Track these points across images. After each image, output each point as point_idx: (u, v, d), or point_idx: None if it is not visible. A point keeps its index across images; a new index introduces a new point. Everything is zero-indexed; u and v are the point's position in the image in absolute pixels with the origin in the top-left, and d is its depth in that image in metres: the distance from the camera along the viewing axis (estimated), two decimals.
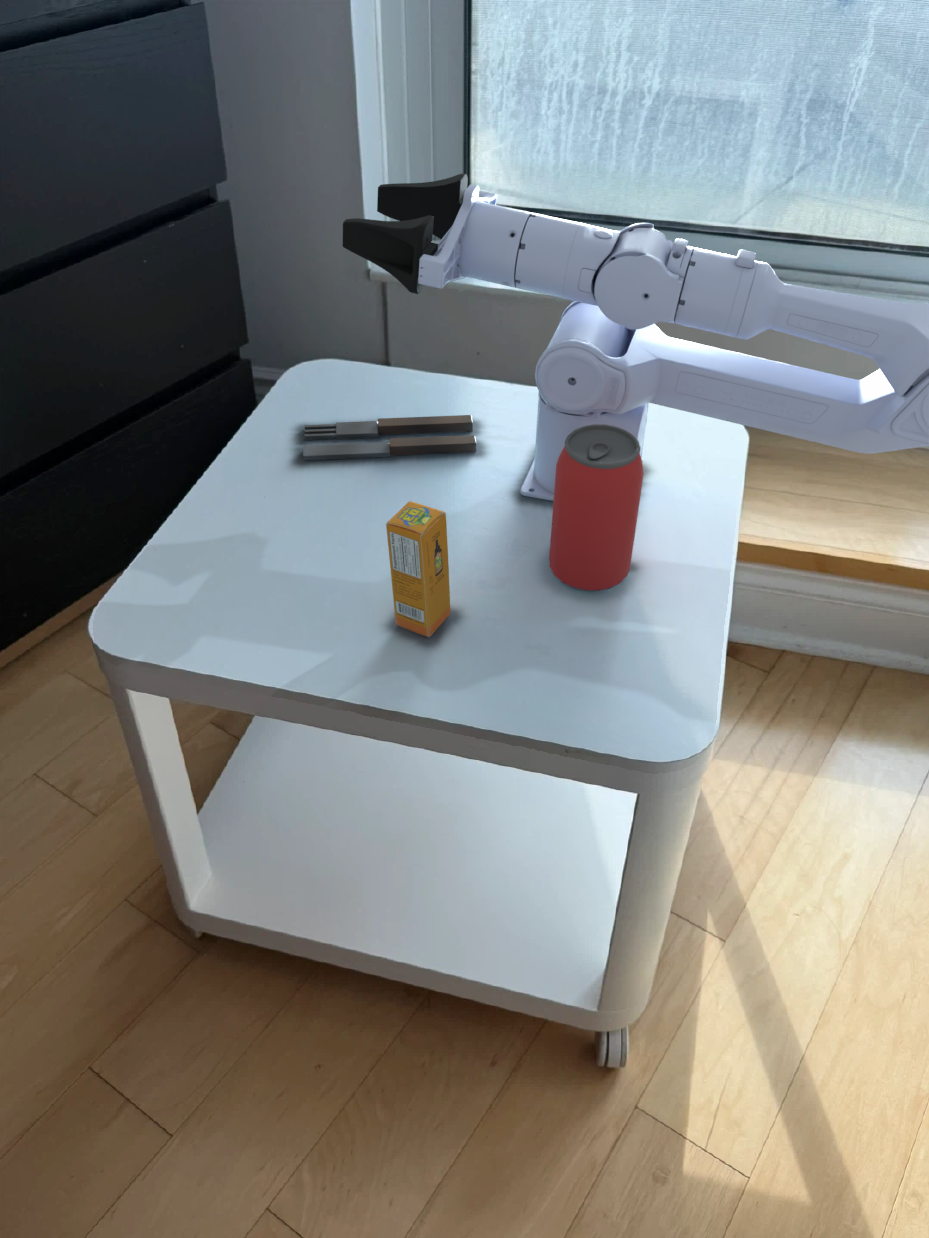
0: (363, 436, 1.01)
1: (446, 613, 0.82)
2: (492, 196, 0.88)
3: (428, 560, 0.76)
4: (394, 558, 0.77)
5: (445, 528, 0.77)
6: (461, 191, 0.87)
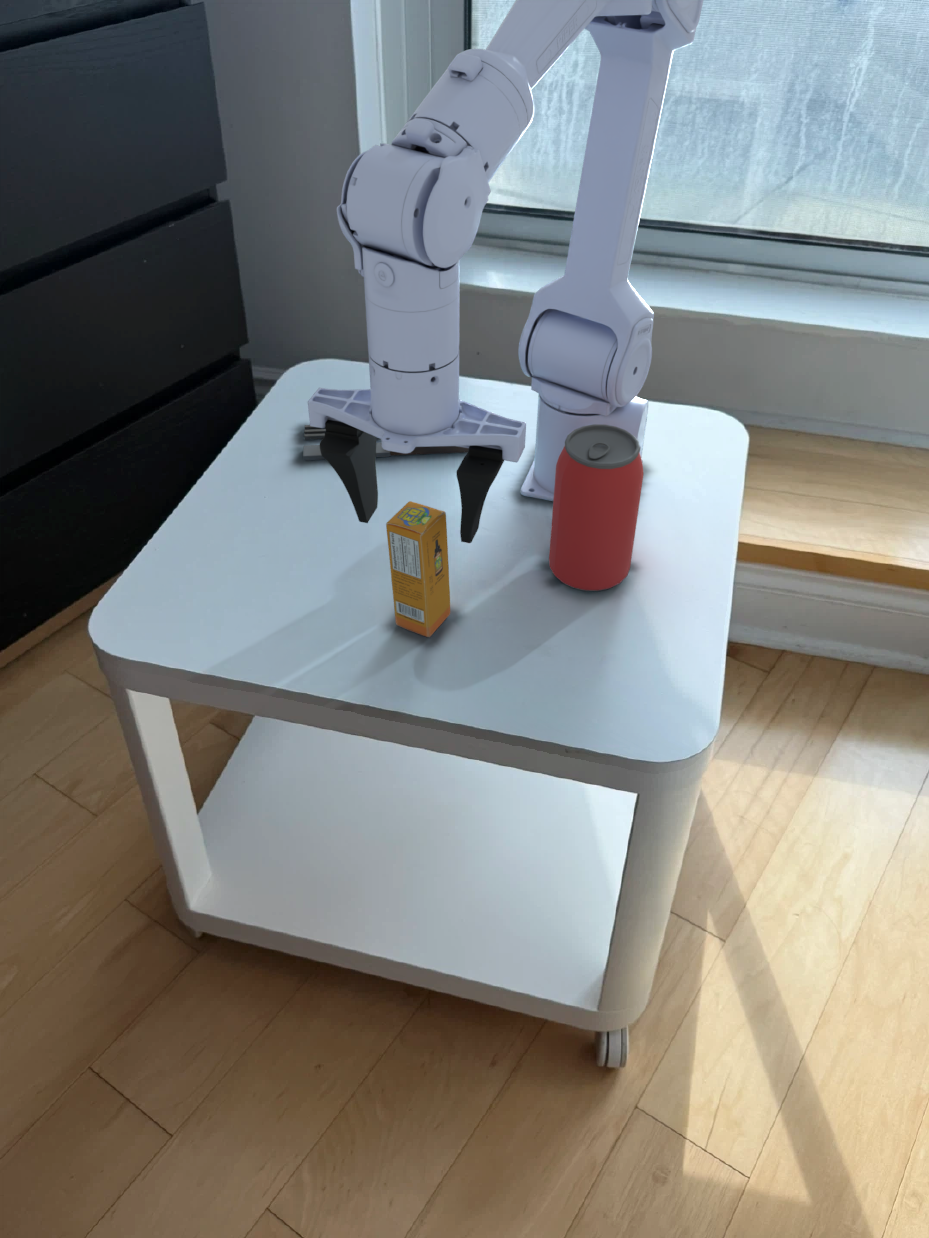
0: None
1: (446, 613, 0.82)
2: (318, 406, 0.71)
3: (428, 560, 0.76)
4: (394, 558, 0.77)
5: (445, 528, 0.77)
6: (344, 444, 0.71)
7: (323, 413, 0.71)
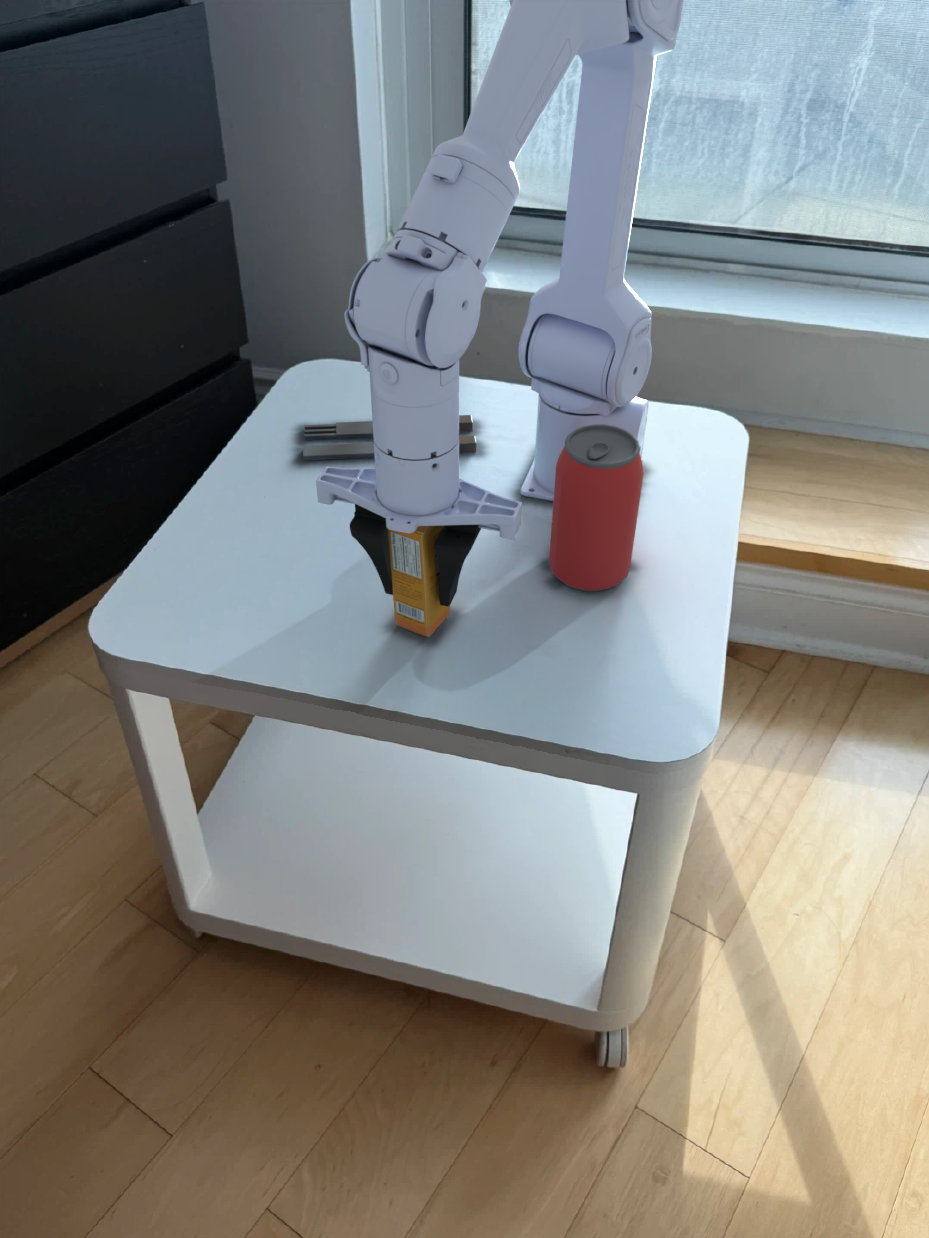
0: (363, 436, 1.01)
1: (446, 613, 0.82)
2: (326, 485, 0.75)
3: (429, 560, 0.76)
4: (395, 558, 0.77)
5: None
6: (373, 525, 0.75)
7: (331, 491, 0.75)
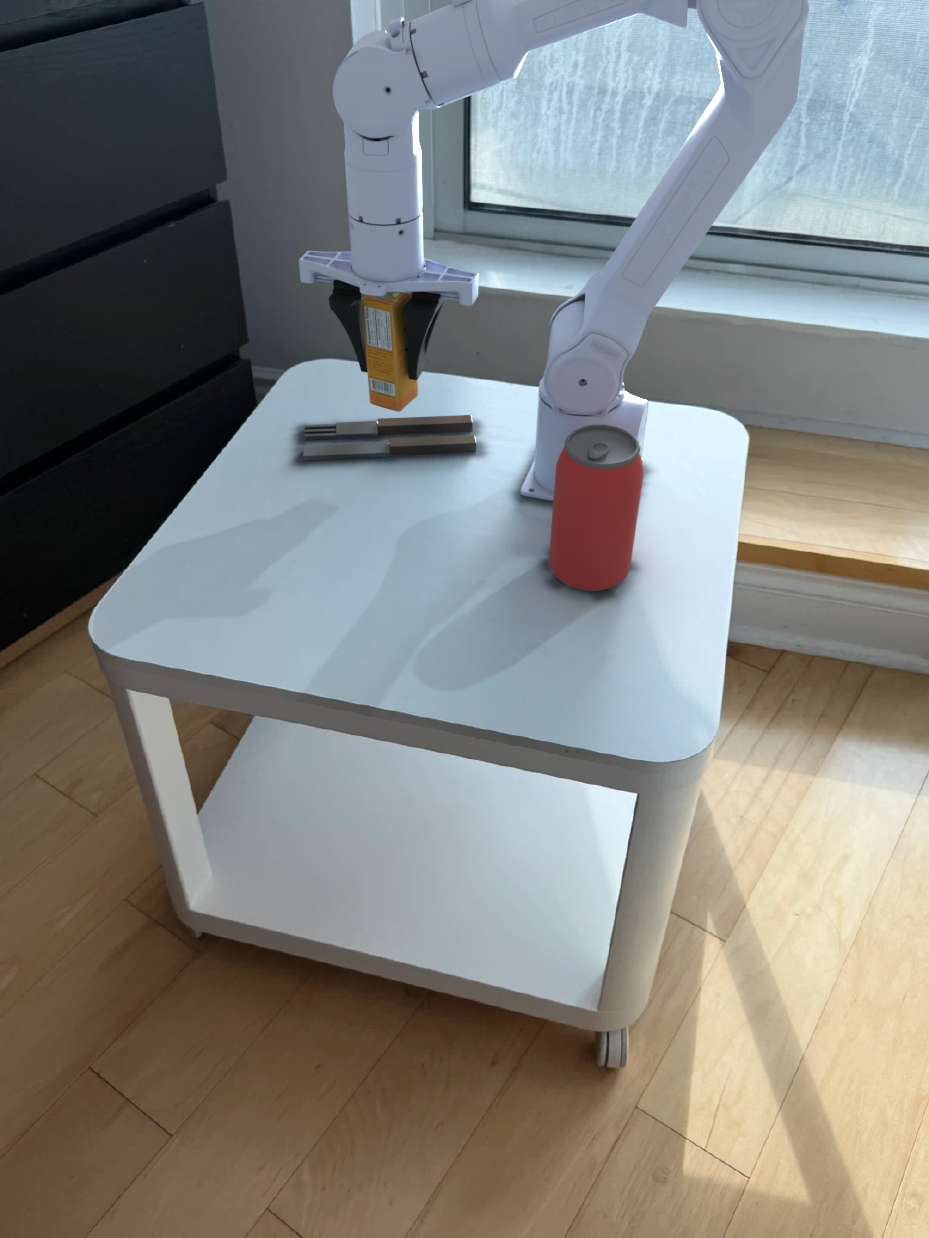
0: (363, 436, 1.01)
1: (414, 393, 0.92)
2: (307, 263, 0.86)
3: (398, 333, 0.87)
4: (368, 333, 0.88)
5: None
6: (349, 298, 0.86)
7: (311, 269, 0.86)
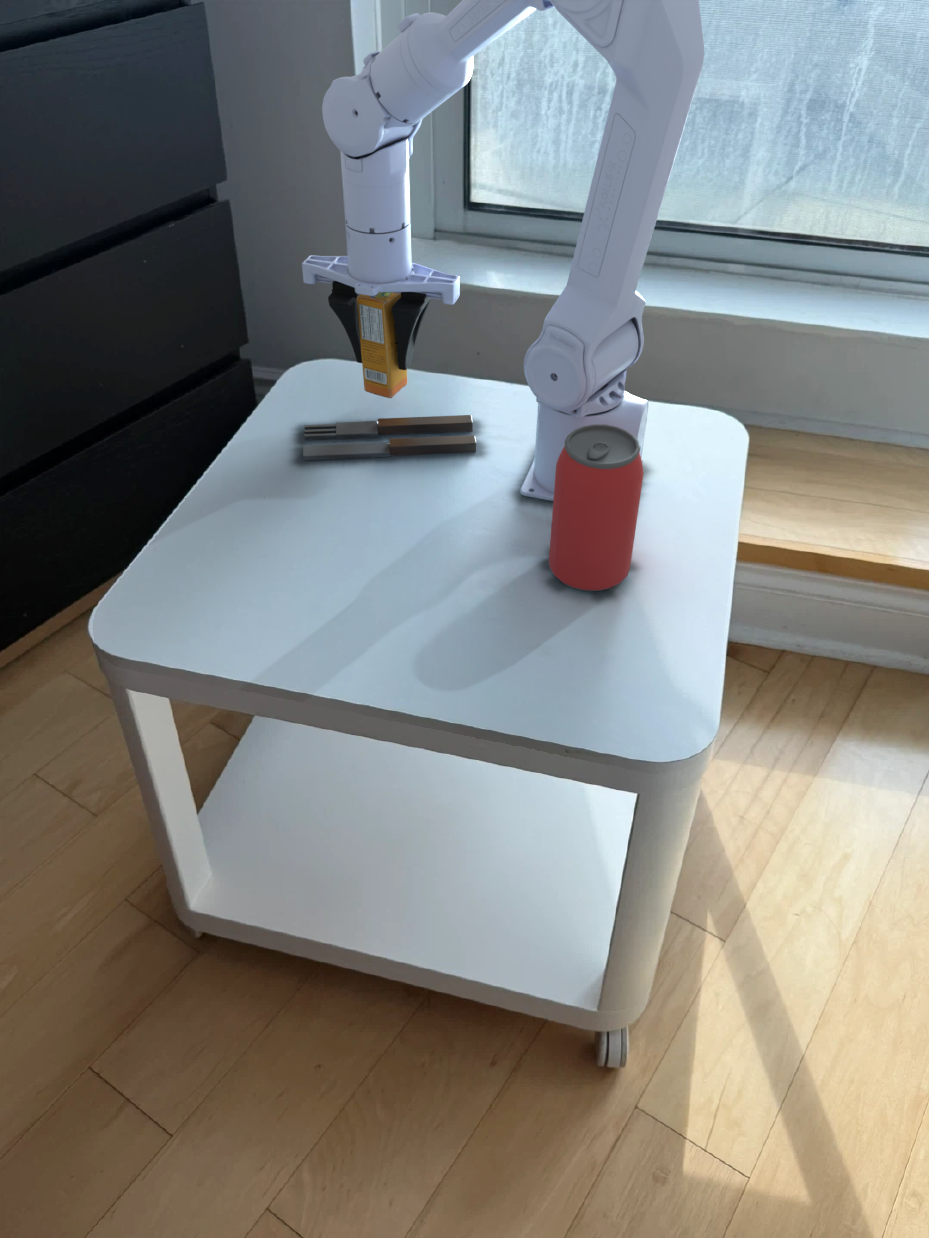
0: (363, 436, 1.01)
1: (404, 381, 1.04)
2: (309, 267, 0.97)
3: (389, 328, 0.98)
4: (363, 328, 0.99)
5: None
6: (346, 298, 0.97)
7: (313, 272, 0.97)
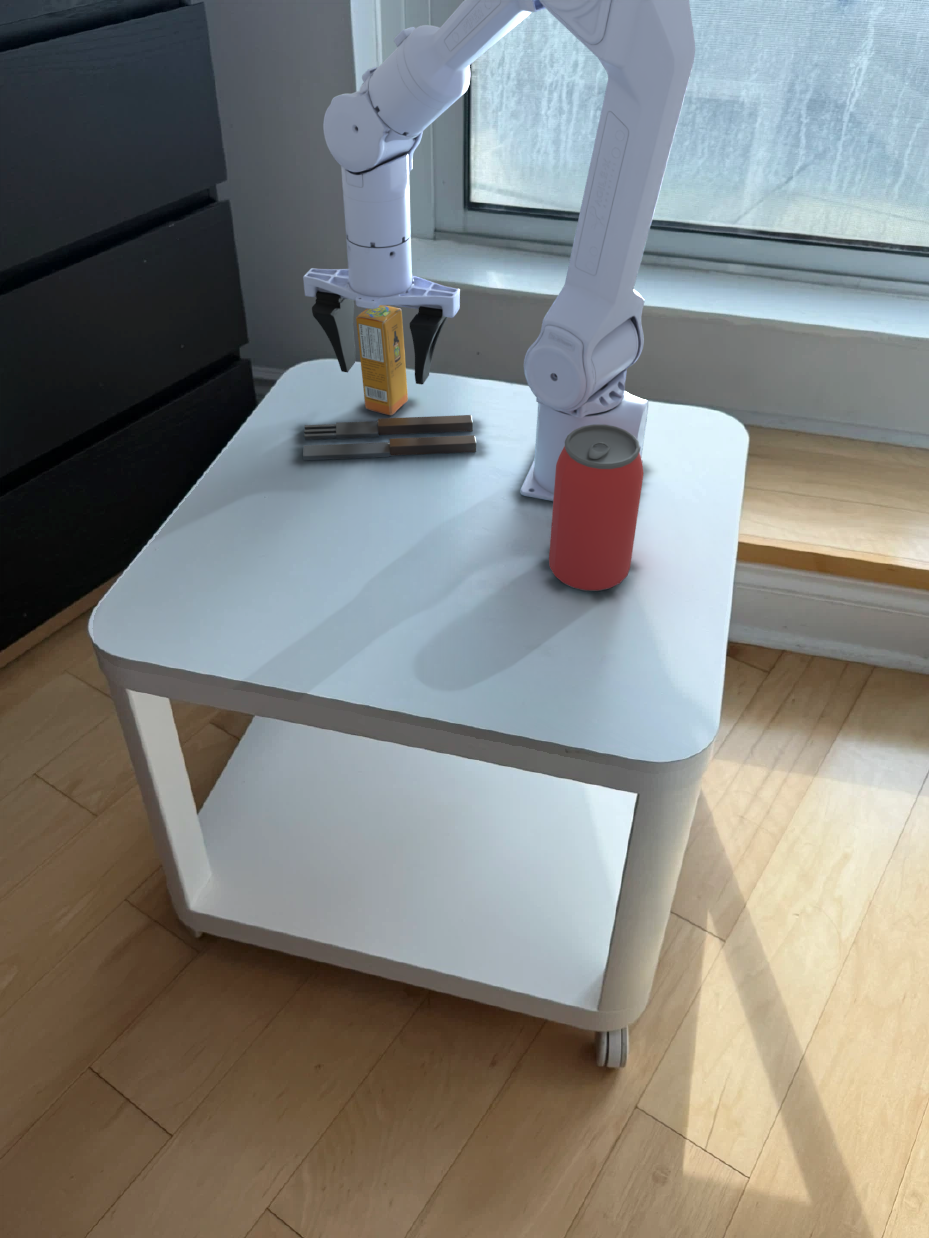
0: (363, 436, 1.01)
1: (404, 398, 1.05)
2: (311, 280, 0.98)
3: (389, 347, 1.00)
4: (363, 347, 1.00)
5: (401, 323, 1.00)
6: (329, 308, 0.98)
7: (314, 285, 0.98)
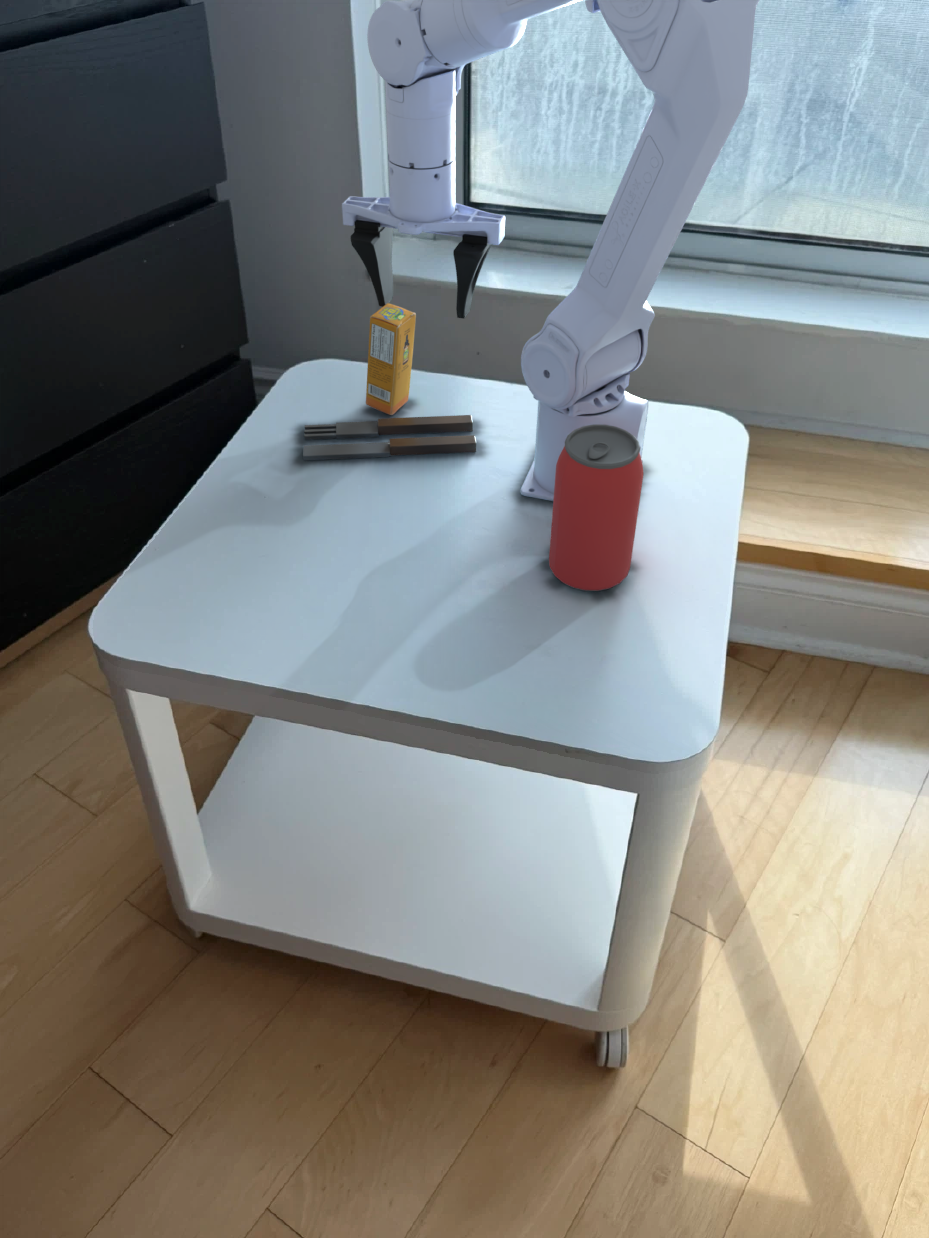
0: (363, 436, 1.01)
1: (405, 399, 1.05)
2: (350, 207, 0.94)
3: (399, 350, 0.99)
4: (373, 346, 1.00)
5: (414, 327, 1.00)
6: (369, 236, 0.95)
7: (353, 212, 0.95)
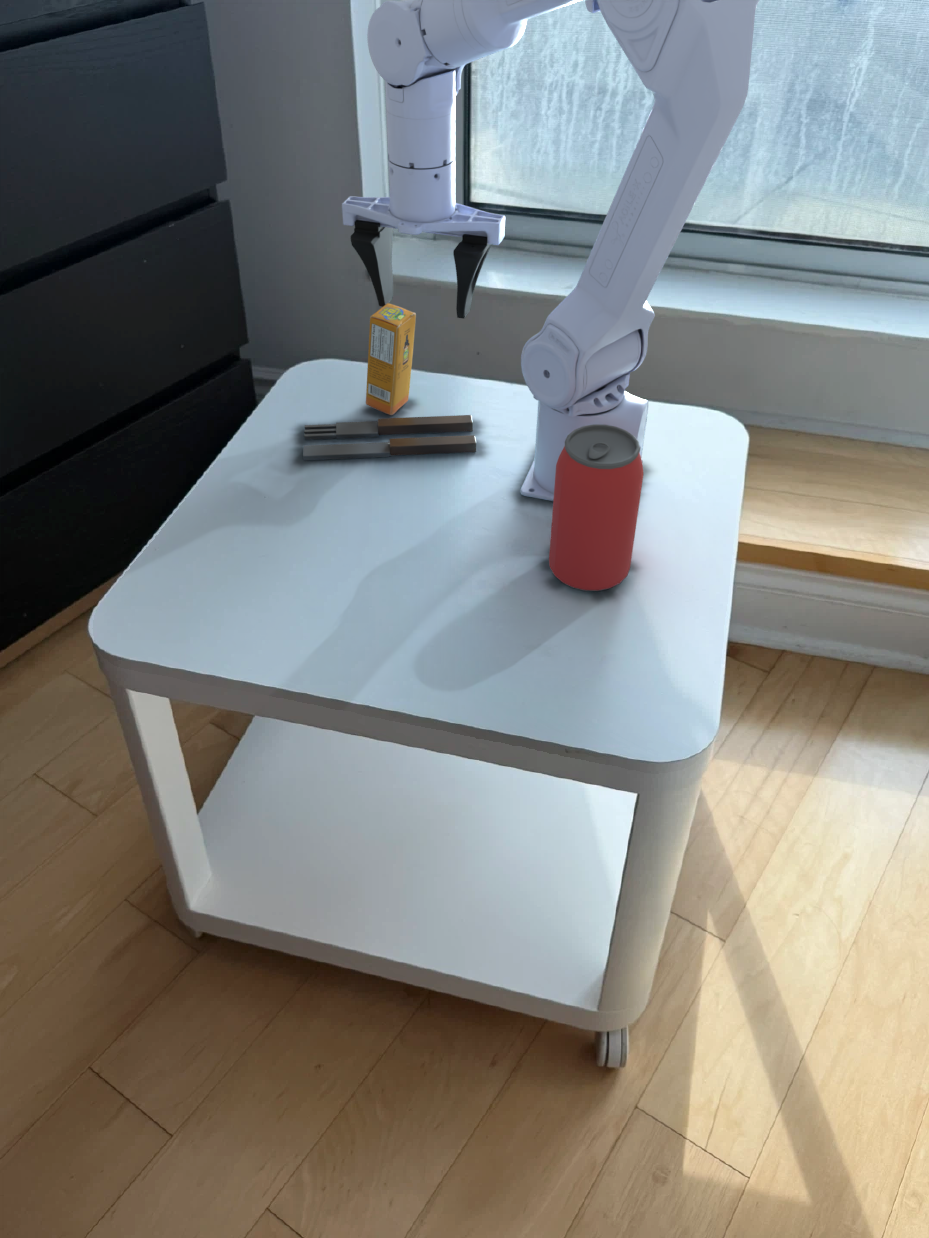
0: (363, 436, 1.01)
1: (405, 399, 1.05)
2: (350, 207, 0.94)
3: (399, 350, 0.99)
4: (373, 346, 1.00)
5: (414, 327, 1.00)
6: (369, 236, 0.95)
7: (353, 212, 0.95)
